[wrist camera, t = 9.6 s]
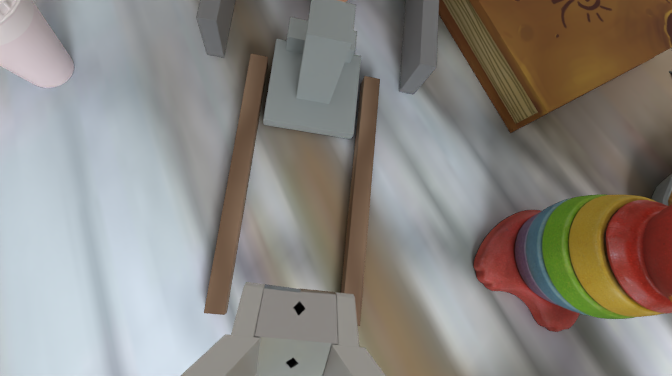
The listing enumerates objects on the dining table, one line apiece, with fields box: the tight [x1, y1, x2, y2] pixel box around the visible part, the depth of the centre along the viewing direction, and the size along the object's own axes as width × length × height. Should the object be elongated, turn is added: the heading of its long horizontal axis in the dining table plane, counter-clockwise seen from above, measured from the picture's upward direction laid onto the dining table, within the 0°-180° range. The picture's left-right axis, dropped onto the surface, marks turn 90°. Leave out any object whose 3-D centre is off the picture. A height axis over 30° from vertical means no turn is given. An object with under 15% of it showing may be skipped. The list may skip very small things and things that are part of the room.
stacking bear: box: [474, 195, 672, 332], centre depth 25 cm, size 11×10×18 cm
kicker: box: [263, 0, 361, 139], centre depth 28 cm, size 8×9×10 cm
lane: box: [204, 54, 380, 326], centre depth 30 cm, size 12×22×2 cm, turn 174°
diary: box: [439, 0, 672, 133], centre depth 38 cm, size 23×19×6 cm
